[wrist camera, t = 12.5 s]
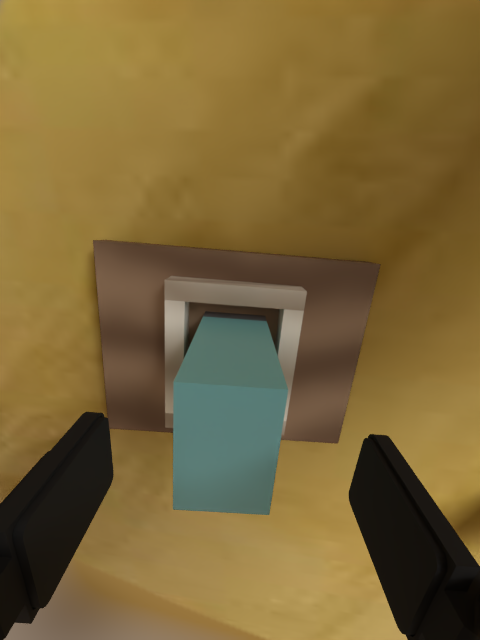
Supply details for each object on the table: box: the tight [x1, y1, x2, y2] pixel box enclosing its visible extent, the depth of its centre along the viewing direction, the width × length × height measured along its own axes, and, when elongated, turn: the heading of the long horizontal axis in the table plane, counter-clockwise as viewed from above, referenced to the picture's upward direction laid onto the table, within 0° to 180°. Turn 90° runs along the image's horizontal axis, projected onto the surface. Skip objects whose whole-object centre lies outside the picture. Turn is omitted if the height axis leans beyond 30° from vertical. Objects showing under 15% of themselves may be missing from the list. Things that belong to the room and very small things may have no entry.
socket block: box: [93, 240, 380, 443], centre depth 19 cm, size 14×18×3 cm
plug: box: [173, 311, 288, 515], centre depth 14 cm, size 6×4×9 cm, turn 175°
